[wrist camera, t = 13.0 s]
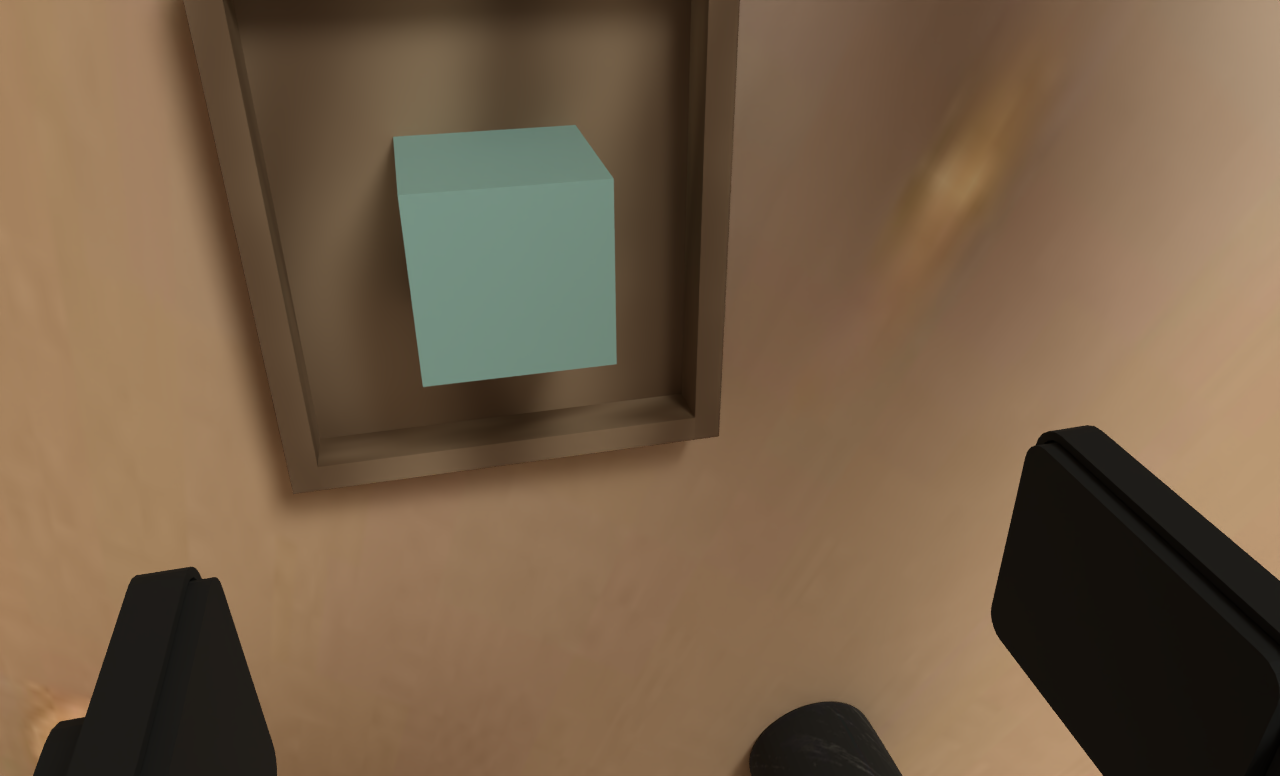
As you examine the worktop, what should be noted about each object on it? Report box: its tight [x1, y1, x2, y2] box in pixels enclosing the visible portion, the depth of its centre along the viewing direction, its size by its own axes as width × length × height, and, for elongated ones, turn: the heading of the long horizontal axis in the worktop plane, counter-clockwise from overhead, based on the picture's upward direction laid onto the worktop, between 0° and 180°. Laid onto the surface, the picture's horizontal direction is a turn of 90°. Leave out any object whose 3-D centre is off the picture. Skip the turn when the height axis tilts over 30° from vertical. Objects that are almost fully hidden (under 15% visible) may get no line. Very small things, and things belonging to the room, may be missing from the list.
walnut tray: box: [183, 0, 740, 494], centre depth 33 cm, size 16×18×2 cm
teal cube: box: [393, 125, 617, 387], centre depth 31 cm, size 6×6×6 cm
